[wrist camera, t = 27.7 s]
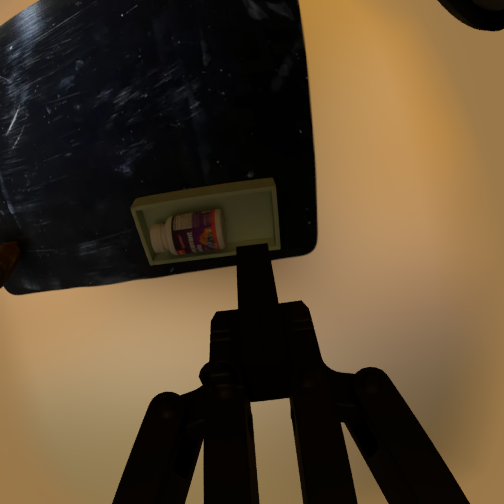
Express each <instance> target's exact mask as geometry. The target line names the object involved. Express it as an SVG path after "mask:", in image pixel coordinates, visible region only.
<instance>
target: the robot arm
mask: <svg viewBox="0 0 504 504" xmlns="http://www.w3.org/2000/svg"><path fill="white" fill-rule="evenodd" d="M468 1H469V2H471V3H472V4H473V5H475V6H477V7H478V8H481V9H483V10H488V11H500V10H503V9H504V0H468ZM236 262H237V288H238V289H237V290H238V309H236V310H228V311H218V312H216V313H215V315H214V317H213V319H212V320H211V334H210V358H209V362H208V363H206V364H205V365H204V366H203V368H202V369H201V371H200V374H199V378H200V380H201V382H202V384H203V385H202V386H201V387H199V388H198V389H196V390H194V391H191V392H188V393H186V394H183V395H178V394H176V393H173V392H163V393H160V394H158V395H157V396H155V397H154V398H153V399H152V401H151V402H150V404H149V406H148V409H147V411H146V414H145V417H144V419H143V422H142V424H141V427H140V429H139V432H138V435H137V437H136V440H135V443H134V445H133V448H132V450H131V453H130V456H129V459H128V461H127V464H126V467H125V469H124V472H123V475H122V477H121V480H120V483H119V486H118V489H117V491H116V494H115V497H114V500H113V503H112V504H185V501H186V497H187V494H188V491H189V487H190V484H191V480H192V477H193V473H194V470H195V466H196V463H197V459H198V456H199V452H200V449H201V445H202V442H203V439H204V504H259V493H258V481H257V468H256V456H255V443H254V431H253V418H252V413H251V406H250V402H257V401H267V400H275V399H283V398H289V399H290V406H291V419H292V424H293V431H294V438H295V446H296V453H297V460H298V467H299V474H300V482H301V490H302V497H303V504H357V498H356V493H355V488H354V483H353V478H352V473H351V468H350V463H349V459H348V454H347V449H346V445H345V440H344V436H343V431H342V427H341V422H344V423H345V425H346V427H347V428H348V430H349V432H350V434H351V436H352V438H353V439H354V441H355V443H356V445H357V447H358V449H359V451H360V452H361V454H362V456H363V458H364V460H365V461H366V463H367V465H368V467H369V468H370V470H371V472H372V474H373V476H374V478H375V480H376V481H377V483H378V485H379V487H380V489H381V491H382V493H383V494H384V496H385V498H386V500H387V502H388V503H389V504H470V503H469V501H468V500H467V498H466V496H465V495H464V493H463V491H462V490H461V488H460V486H459V485H458V483H457V481H456V480H455V478H454V476H453V475H452V473H451V472H450V470H449V468H448V467H447V465H446V464H445V462H444V461H443V459H442V457H441V456H440V454H439V452H438V451H437V450H436V448H435V446H434V445H433V443H432V442H431V440H430V438H429V437H428V435H427V434H426V432H425V431H424V429H423V428H422V426H421V425H420V423H419V421H418V420H417V418H416V417H415V415H414V414H413V412H412V411H411V410H410V408H409V406H408V405H407V403H406V402H405V400H404V399H403V397H402V396H401V394H400V393H399V392H398V390H397V389H396V387H395V386H394V384H393V383H392V381H391V380H390V378H389V377H388V376H387V374H386V373H384V371H383V370H380V369H378V368H375V367H367V368H363V369H361V370H360V371H358V372H357V373H356V374H351V373H341V372H336V371H334V370H331V369H330V368H329V367H327V366H326V364H325V363H324V362H323V360H322V357H321V353H320V350H319V346H318V342H317V338H316V334H315V330H314V326H313V322H312V319H311V315H310V311H309V308H308V307H307V306H306V305H305V304H304V303H303V302H302V300H301V301H294V302H287V303H278V297H277V292H276V286H275V281H274V275H273V270H272V264H271V259H270V253H269V248H268V243H262V244H254V245H246V246H238V247H236Z"/></svg>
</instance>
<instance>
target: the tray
mask: <svg viewBox="0 0 504 504" xmlns="http://www.w3.org/2000/svg"><path fill="white" fill-rule="evenodd" d="M212 209H221V210H222V213H223V217H224V222H225V228H226V238H227V245H226V248H224V249H219V250H211V251H204V252H197V253H189V254H182V255H174V254H172V253H171V252H170V250H168V251H167V252H162V253H156V252H155V251H154V249H153V247H152V244H151V238H150V230H151V226H152V225H154V224H159V223H163V224H165V223H166V220H167V219H168V218H169V217H170V216H174V215H180V214H186V213H192V212H199V211H205V210H212ZM131 212H132V215H133V218H134V221H135V224H136V227H137V230H138V233H139V235H140V238H141V241H142V244H143V247H144V250H145V252H146V255H147V258H148V261H149V263H150V265H158V264H166V263H174V262H182V261H190V260H198V259H206V258H214V257H222V256H230V255H236V247H238V246H246V245H254V244H262V243H268V248H269V251H270V250H276V249H281V246H280V233H279V219H278V206H277V194H276V185H275V182H274V179H273V178H264V179H256V180H248V181H240V182H233V183H225V184H218V185H211V186H205V187H198V188H192V189H186V190H180V191H174V192H168V193H162V194H156V195H151V196H146V197H140V198H136V199H135V201H134V203H133V204H132V206H131Z"/></svg>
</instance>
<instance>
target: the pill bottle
mask: <svg viewBox="0 0 504 504" xmlns="http://www.w3.org/2000/svg"><path fill="white" fill-rule="evenodd" d="M150 238H151V244H152V247H153V249H154V251H155V252H156V253H162V252H167V251H168V250H170V252H171V253H172V254H174V255H182V254H189V253H197V252H204V251H211V250H219V249H224V248H226V245H227V238H226V228H225V222H224V217H223V213H222V210H221V209H212V210H205V211H199V212H192V213H186V214H180V215H174V216H170V217H169V218H168V219H167V220H166V223H165V224H163V223H159V224H154V225H152V226H151V230H150Z"/></svg>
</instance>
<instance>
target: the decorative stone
mask: <svg viewBox="0 0 504 504" xmlns="http://www.w3.org/2000/svg"><path fill="white" fill-rule="evenodd" d="M17 244H18V242H16V241H13V242H7V243H4V244H1V245H0V288H1V287H3V285H4V284H5V283H6V281H7V280H8V278H9V277H10V275H11V274H12V272H13V271H14V269H15V267H16V265H17V263H18V261H19V258H20V254H21V251H20V249H19V247H18V246H17Z"/></svg>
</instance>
